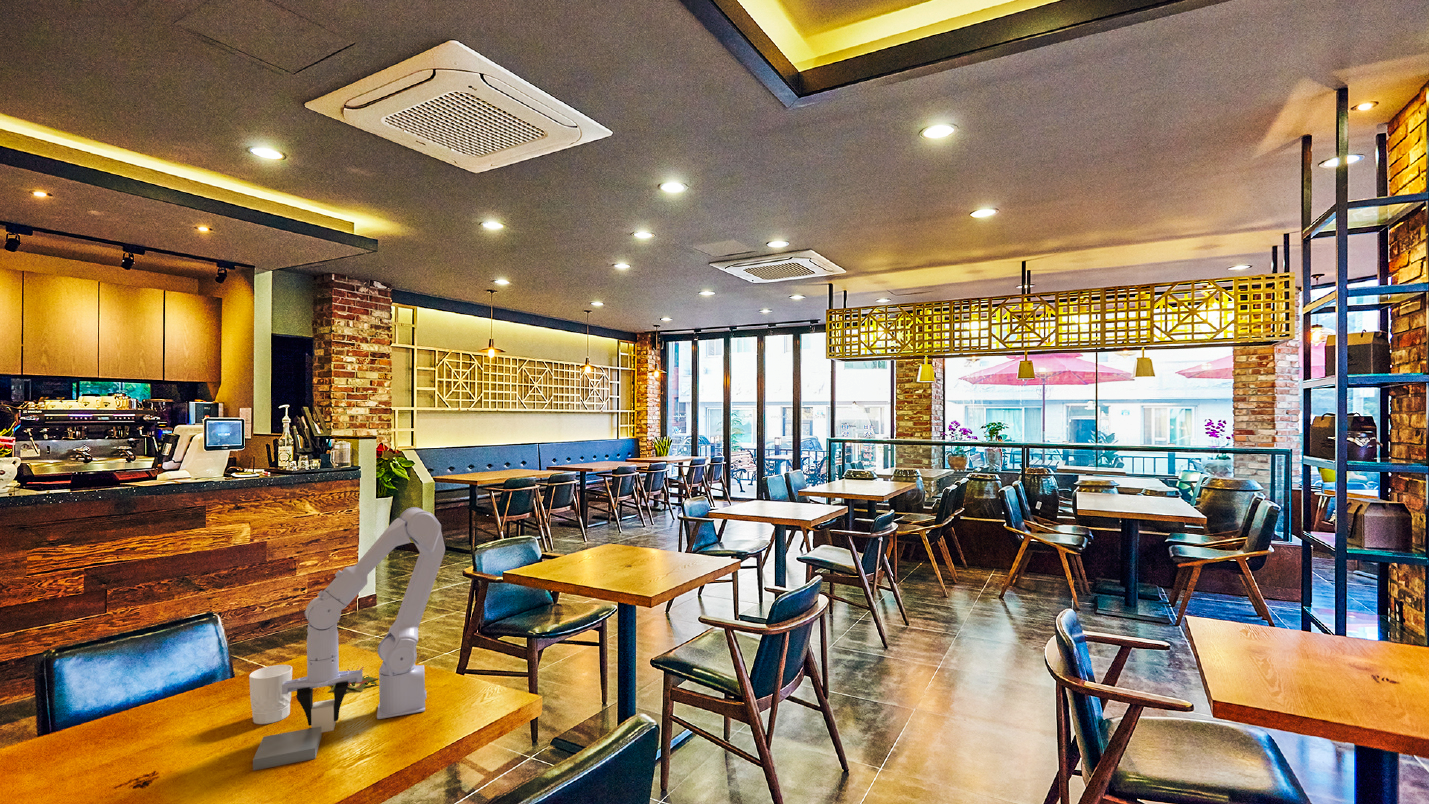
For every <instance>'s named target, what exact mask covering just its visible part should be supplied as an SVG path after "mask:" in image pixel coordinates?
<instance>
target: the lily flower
mask: <svg viewBox="0 0 1429 804" xmlns="http://www.w3.org/2000/svg"><path fill="white" fill-rule="evenodd" d="M358 668H360V666H359V665H358V666H357V668H356V670H355V671H357V670H358ZM364 668H365V667H364V666H362V667H361V668H360V669H359V670H362V671H363V670H364ZM351 669H352V670H349V669H348V668H347V671H354V670H353V667H351ZM365 676H368V677H366V678H364V677H365ZM373 679H374V680H379V678H378V677H373V676H369V675H368V674H367V675H363V672H362V682H350V683H349V684H348V689H349V690H347V691H346V693H348V692H352V691H355V690H356V691H359V692H362V693H363V691H364V688H367V687H369V685H367V684H365V683H367V682H372V683H371V684H377V681H376V682H375V681H373ZM350 684H351V685H350ZM356 684H359V685H358V686H356ZM331 686H332V687H331V688H330V689H329V690H328V691H327V693H329V692H332V691H333V692H334V688H335V685H331ZM350 686H352V687H350ZM374 686H376V685H374Z"/></svg>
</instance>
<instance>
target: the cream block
mask: <svg viewBox="0 0 1429 804" xmlns="http://www.w3.org/2000/svg"><path fill="white" fill-rule="evenodd" d="M334 708H335V703H334V698H333V699H332V698H331V699H327V700H320V701H315V702H314V701H313V706H312V709H311V725H310V726H311V728H315V727H321V733H326V732H327V733H328V732H333V731H334V730H335V727H336V722H337V721H334Z"/></svg>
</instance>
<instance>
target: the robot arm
mask: <svg viewBox="0 0 1429 804" xmlns="http://www.w3.org/2000/svg"><path fill="white" fill-rule="evenodd" d="M412 542H413V543H414V545H415V547H416V548H417V550H418V552H419V554H418V557H417V559H416V563H415V565H414V568H413V571H412V572H411V573H412V574H411V576H410V579H409V582H408V585H407V587H406V591H405V592H404V595H403V599H402V601H401V604H400V606H399V610H398V612H397V615H396V618H395V621H394V622H393V624H391V626H390V627H389V628H388V629H389V630H388V631H387V633H386V635H385V636H384V637H383V639H381V640H380V642H379V644H378V646H377V654H378V657H379V658H380V659H381V661H382V663H381V666H380V667H379V668H378V669H379V670H378V677H379V678H378V680H379V681H378V686H379V692H378V693H379V696H378V697H379V703H378V704H377V712H376V720H381V719H382V720H383V719H386V718H387V719H388V718H393V717H394V718H395V717H398V716H404V715H411V714H416V713H421V712H425V711H426V700H427V689H426V685H425V681H426V680H425V677H426V676H425V675H426V674H425V672H426V671H425V665H424V664H423V665H422V664H420V665H419V664H417V665H416V661H417V657H418V656H417V655H418V654H417V645H418V642H419V626H420V624H421V621H422V618H423V616H424V612H425V610H426V607H427V604H428V601H429V599H430V595H431V593H432V589H433V587H434V584H435V581H436V578H437V575H438V573H439V571H440V570H439V569H440V568H441V565H442V561H443V559H444V555H445V554H446V553H445V552H446V546H445V542H444V537H443V534H442V524H441V523H440V522H439V520H438V519H437V517H436V516H435V515H434V514H433V513H432V512H429V511H426V510H424V509H422V508H421V507H417V506H415V507H413V506H412V507H409V508H407V509H405V510H404V511H403V512H402V513H401V514H400V516H399V517H397V518H396V519H394V520H393V521H392V522H391V523H390V524H389V526H388V527H387V528H386V529H385V530H384V531H383V533H381V535H380V536H379V538H377V540H376V541H375V542H374V543H373V544H372V545H371V546H370V548H369V549H368V550H367V551H366V553H364V555H363V556H362V557H361V558H360V560H359V561H358V562H356V564H355V565H352V566H351V565H350V566H346V567H344V568H343V570H339V569H338V570H337V571H336V572H335V574H334V576H335V578H334V579H333V580H332V581H331V582H330V583H329V585H327V587H325V589H323V591H322V590H320V591H319V592H318V593H317V597H315V598H313V599H312V600H310V602H308V604H307V606H306V609H305V611H303V612H304V617H305V619H306V620H307V621H308V623H307V629H306V630H307V631H306V632H307V635H306V661H307V662H306V665H307V666H306V667H307V669H306V670H307V672H306V673H307V675H306V676H303V677H299V678H295V679H292V680H290V681H284V682H283V684H282V694H287V693H289V692H291V693H292V692H296V696H295V697H296V700H297V701H298V704H300V706H301V707H302V709H303V711H304V714H305V717H306V720H307V725H308V726H311V709H312V706H313V703H314V701H313V700H314V699H313V698H314V697H313V696H314V689H318V688H325V687H330V686H332V685H335V688H334V690H333V699H334V703H335V708H334V721H336V722H338V721H339V717H340V716H339V715H340V709H341V705H342V702H343V701H344V698H345V695H346V693H347V692H346V691H348V689H349V688H348V687H349V686H348V684H349V683H350V682H362V676H363V674H362V673H363V670H360V669H359V670H358V669H356V670H357V671H356V670H350V671H348V670H340V669H339V668H340V667H339V664H340V663H339V662H340V661H339V659H340V657H339V631H338V622H339V621H340V619H341V616H342V610H344V609H345V608H347V606H348V605H350V604H351V602H352V601H353V600H354V599H355V598H356V597H357V596H358V595H359V594H360V593H361V591H362V590H363V589H365V587H366V586H367V585H368V575H369V574H370V573H371V572H372V571H373V570H374V569H375V568H376V567H377V566H378V565H379V564H380V563H381V562H382V561H383V560H384V559H385V558H386V557H387V556H388V555H389V554H390V553H391V552H392V551H393V550H394V549H395V548H397V547H399V546H403V545H406V544H411V543H412Z"/></svg>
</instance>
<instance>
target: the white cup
mask: <svg viewBox="0 0 1429 804" xmlns="http://www.w3.org/2000/svg"><path fill="white" fill-rule="evenodd" d="M248 677H249V678H248V679H249V696H250V697H249V698H250V704H251V705H250V706H251V707H250V708H251V711H252V712H251V713H252V721H253V723H254V724H257V725H267V724H268V725H269V724H273V723H277V722H279V721H282V720H284V719H286V718H288V716H289V715H290V714H291V701H292V692H289V693H287V694H282V684H283V682H284V681H290V680H293V666H291V665H289V664H276V665H269V666H266V667H262V668H258V669H256V670H254V671H252V672H251V673H250V674H249V675H248Z"/></svg>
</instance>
